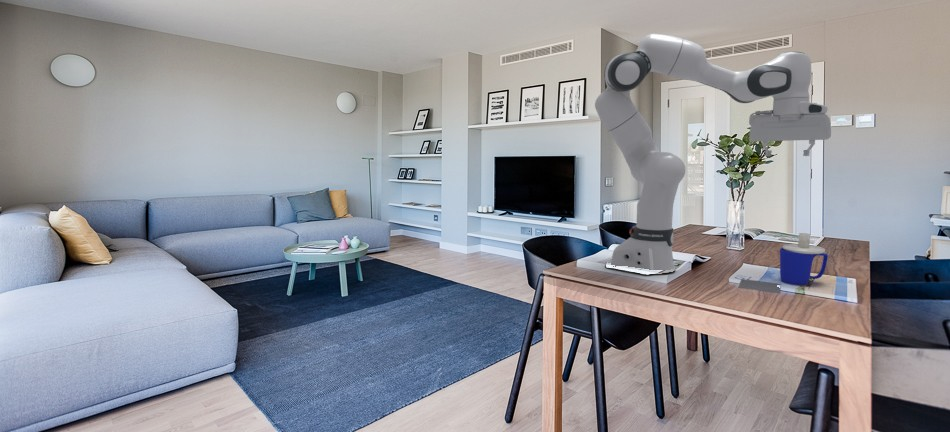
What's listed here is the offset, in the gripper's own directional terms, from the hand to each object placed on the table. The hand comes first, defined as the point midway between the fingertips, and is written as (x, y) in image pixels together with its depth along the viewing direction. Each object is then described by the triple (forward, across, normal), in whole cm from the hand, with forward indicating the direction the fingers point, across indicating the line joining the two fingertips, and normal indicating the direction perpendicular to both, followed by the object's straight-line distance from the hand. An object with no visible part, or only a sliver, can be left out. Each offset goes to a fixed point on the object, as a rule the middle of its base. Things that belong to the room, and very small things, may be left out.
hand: (786, 156), depth 139 cm
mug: (+37, +6, -6) cm, 38 cm away
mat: (+37, -4, -16) cm, 41 cm away
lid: (+27, +6, -6) cm, 28 cm away
